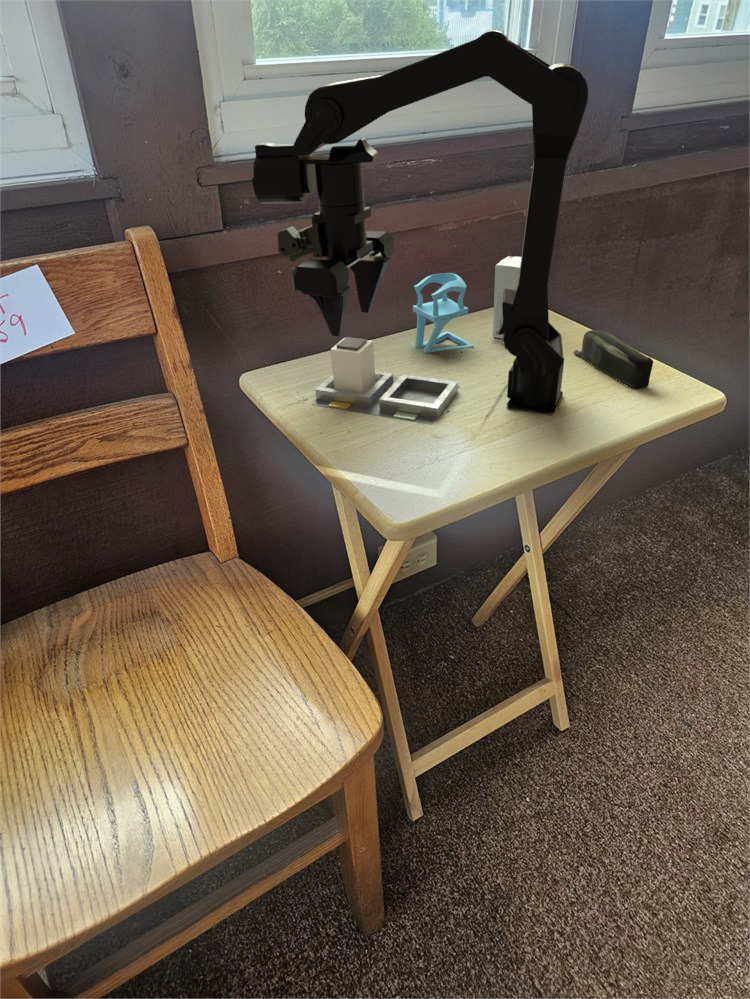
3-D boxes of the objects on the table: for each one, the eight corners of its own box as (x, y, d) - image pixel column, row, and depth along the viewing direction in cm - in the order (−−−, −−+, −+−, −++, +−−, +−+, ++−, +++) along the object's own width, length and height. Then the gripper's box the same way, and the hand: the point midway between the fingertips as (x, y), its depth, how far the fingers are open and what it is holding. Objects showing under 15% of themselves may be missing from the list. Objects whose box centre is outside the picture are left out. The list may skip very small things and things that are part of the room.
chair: (406, 347, 112) (404, 275, 105) (448, 336, 115) (448, 265, 108) (431, 363, 107) (430, 288, 100) (474, 350, 110) (476, 277, 103)
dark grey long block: (658, 357, 93) (589, 321, 104) (641, 361, 92) (573, 324, 103) (651, 389, 96) (585, 351, 107) (634, 394, 95) (569, 355, 106)
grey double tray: (461, 391, 98) (461, 376, 96) (433, 429, 89) (433, 414, 88) (347, 375, 104) (346, 361, 103) (311, 409, 96) (309, 394, 94)
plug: (375, 386, 99) (373, 338, 95) (362, 399, 95) (359, 350, 91) (345, 381, 101) (341, 334, 96) (331, 394, 97) (327, 346, 93)
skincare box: (516, 341, 112) (521, 267, 105) (490, 337, 114) (494, 265, 107) (527, 328, 116) (533, 256, 109) (503, 325, 118) (507, 254, 111)
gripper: (319, 185, 93) (330, 297, 102) (245, 217, 79) (265, 342, 88) (393, 187, 89) (397, 303, 98) (328, 221, 75) (340, 352, 84)
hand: (351, 323), depth 92 cm, fingers open, 9 cm apart
